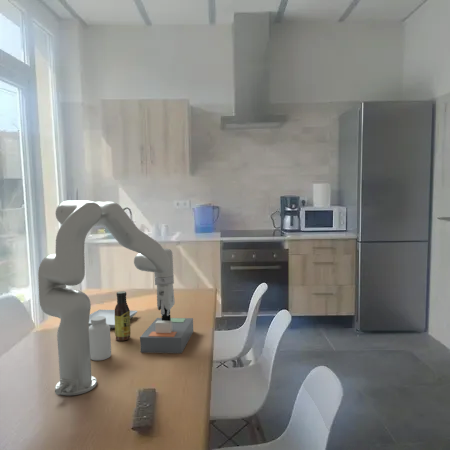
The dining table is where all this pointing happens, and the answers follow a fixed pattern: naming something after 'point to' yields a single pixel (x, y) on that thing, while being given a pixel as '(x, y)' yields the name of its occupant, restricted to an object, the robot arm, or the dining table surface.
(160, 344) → the switch box
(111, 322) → the salad plate
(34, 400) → the dining table surface
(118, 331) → the sauce bottle
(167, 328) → the switch knob
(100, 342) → the pill bottle
